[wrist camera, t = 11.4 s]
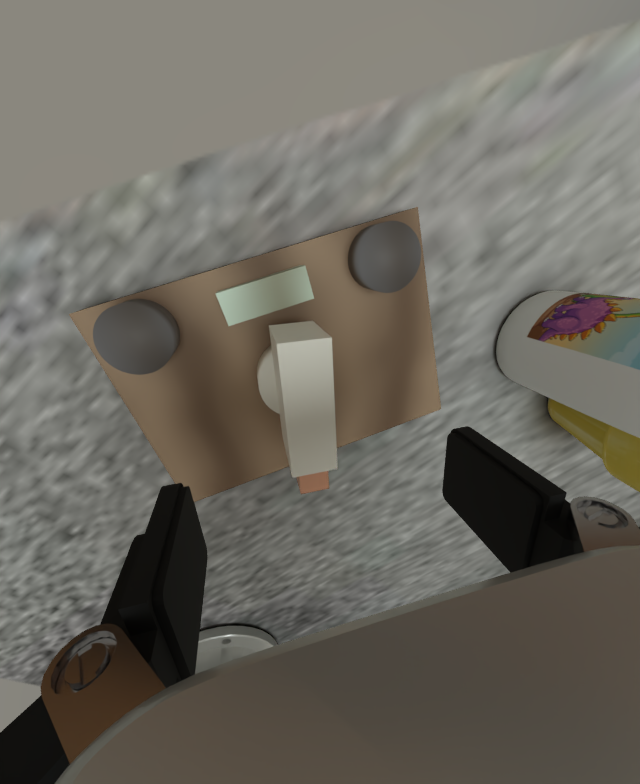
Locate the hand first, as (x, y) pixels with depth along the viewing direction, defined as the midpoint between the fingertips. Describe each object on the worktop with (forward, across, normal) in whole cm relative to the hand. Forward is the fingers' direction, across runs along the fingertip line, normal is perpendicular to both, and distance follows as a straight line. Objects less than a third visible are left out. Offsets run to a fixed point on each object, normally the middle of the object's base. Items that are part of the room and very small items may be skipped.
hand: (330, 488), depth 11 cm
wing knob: (+10, 0, -1) cm, 10 cm away
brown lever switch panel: (+13, 0, -1) cm, 13 cm away
